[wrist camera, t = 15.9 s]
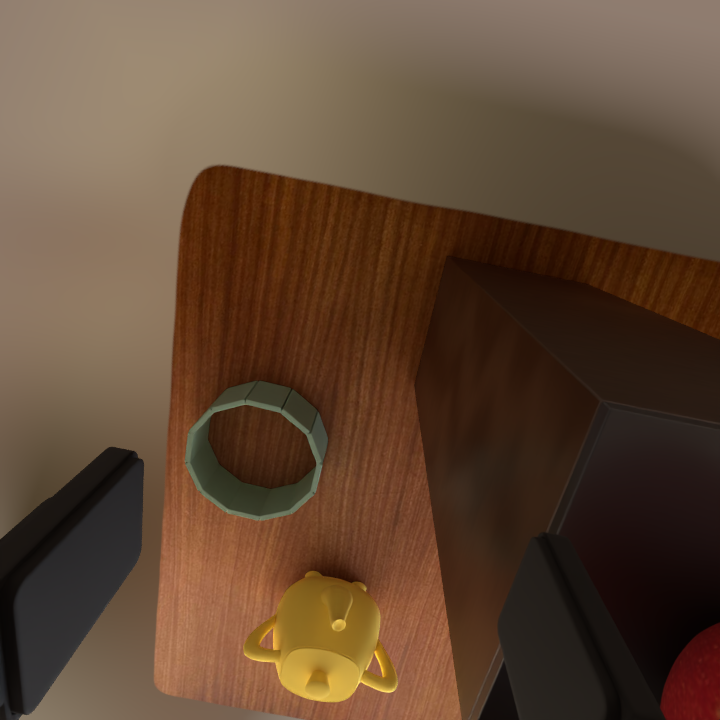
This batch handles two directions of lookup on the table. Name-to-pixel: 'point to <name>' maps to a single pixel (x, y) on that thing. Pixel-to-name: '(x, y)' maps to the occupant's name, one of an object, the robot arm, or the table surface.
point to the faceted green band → (247, 496)
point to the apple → (695, 680)
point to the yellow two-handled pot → (324, 640)
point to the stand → (568, 462)
